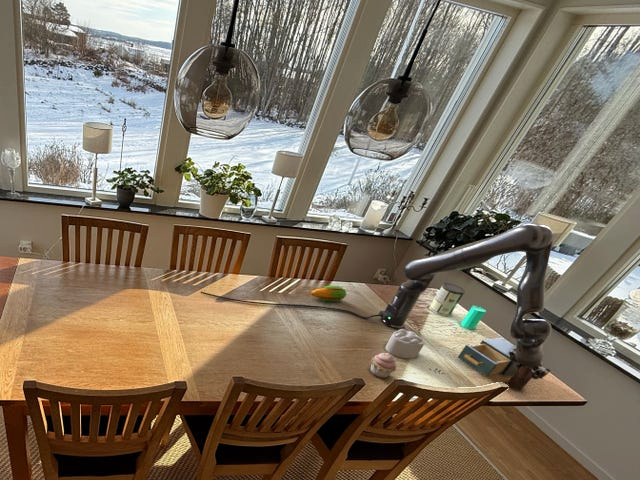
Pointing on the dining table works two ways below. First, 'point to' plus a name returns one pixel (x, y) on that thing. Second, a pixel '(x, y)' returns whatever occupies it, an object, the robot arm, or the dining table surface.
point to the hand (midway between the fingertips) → (528, 372)
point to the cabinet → (503, 352)
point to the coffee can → (447, 299)
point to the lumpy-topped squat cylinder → (405, 344)
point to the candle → (473, 317)
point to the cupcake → (383, 365)
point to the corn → (329, 293)
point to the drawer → (484, 359)
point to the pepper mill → (520, 378)
